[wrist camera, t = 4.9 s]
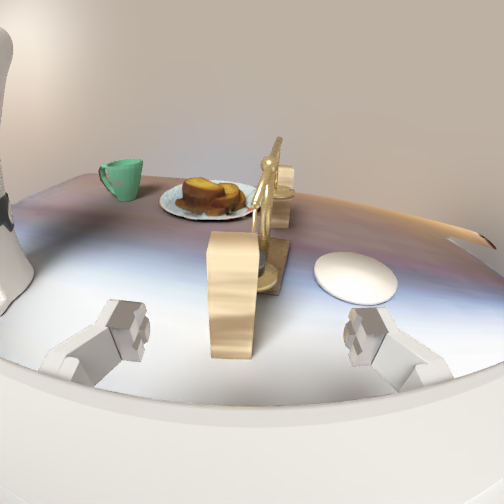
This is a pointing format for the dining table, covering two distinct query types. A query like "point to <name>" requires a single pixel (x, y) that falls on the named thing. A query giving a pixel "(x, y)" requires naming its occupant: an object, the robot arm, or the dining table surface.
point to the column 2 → (282, 206)
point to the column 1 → (232, 293)
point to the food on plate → (208, 199)
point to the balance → (270, 248)
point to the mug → (122, 178)
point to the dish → (355, 278)
